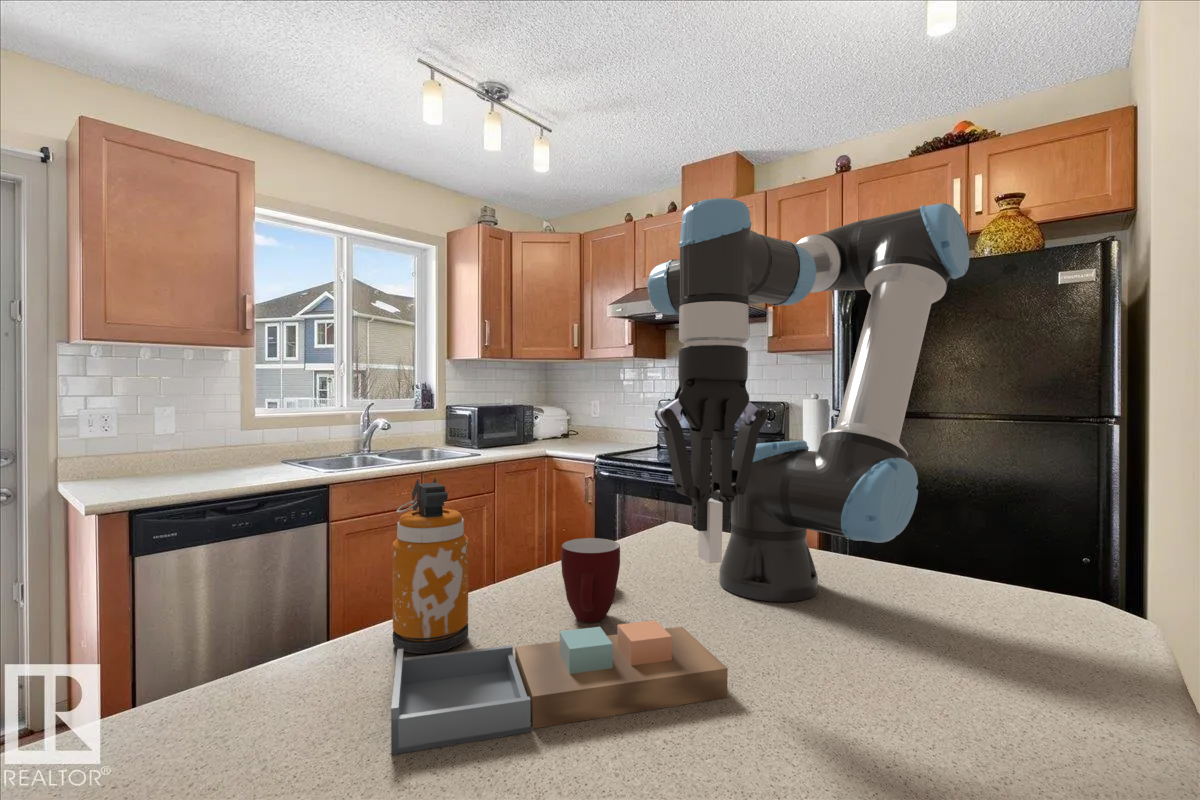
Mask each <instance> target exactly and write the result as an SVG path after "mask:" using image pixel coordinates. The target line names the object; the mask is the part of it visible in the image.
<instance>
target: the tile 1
mask: <svg viewBox="0 0 1200 800" xmlns="http://www.w3.org/2000/svg"><path fill="white" fill-rule="evenodd" d="M607 636H608V635H607V634H606V633H605V631H604V630H603V629H602V627H601V626H595V627H585V628H578V629H577V628H575V629H569V630H560V631H559V641H560V656H561V658H562V660H563V662H564V664H565V666H566V668H567V670H568V672H569V674H574V673H581V672H588V671H596V670H603V669H610V668H613V644H612V642H611V641H610V640H609V638H608V637H607Z"/></svg>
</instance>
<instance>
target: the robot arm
mask: <svg viewBox="0 0 1200 800" xmlns="http://www.w3.org/2000/svg"><path fill="white" fill-rule="evenodd" d="M752 224H753V222H752V221H751V211H750V208H749V207H748V205H747V204H746V203H745V202H744V201H741V200H738V199H733V198H724V197H723V198H722V197H721V198H719V197H718V198H709V199H708V198H707V199H703V200H700V201H698V202H694V203H692V204H690V205H689V206H687V207H686V208H685V209H684V210H683V213H682V216H681V224H680V237H679V242H678V247H679V259H678V258H677V259H670V260H669V261H666V262H663V263H660V264H658V265H656V266H655V267H654V268H653V269H652V270H651V272H650V273H649V276H648V278H647V285H646V286H647V294H648V299H649V301H650V303H651V305H652V307H653V308H654V309H655V310H656V311H658V312H659V314H660V313H661V314H662V315H664V316H665V315H666V316H667V315H668V316H670V315H677V316H678V317H679V319H678V322H679V324H678V341H679V342H680V343H681V344H684V346H682V347H680V350H678V364H677V365H678V370H677V371H678V372H677V373H678V374H677V377H678V388H677V390H676V391H675V394H674V400H673V401H671V402H670V403H668V404H667V405H665V406H664V407H658V408H657V409H655V411H654V416H655V418H656V420H657V422H658V423H659V425H660V427H661V428H662V430H663V434H664V439H665V445H666V449H667V455H668V459H669V464H670V467H671V474H672V478H673V479H672V480H673V482H674V487H675V491H676V492H677V493H678V494H680V495H683V496H686V497H688V498H690V500H691V510H692V511H691V526H692V528H693V529H694V530H696V531H698V535H697V536H698V539H697V540H698V542H697V543H698V545H697V546H698V547H697V550H698V551H697V552H698V554H697V556H698V558H700V559H702V560H703V561H704V562H706V563H708V564H716V563H721V564H720V566H719V575H718V576H719V581H718V582H719V585H720V586H721V587H722V588H723V589H724V590H726V591H728V592H729V593H731V594H734V595H736V596H741V597H743V598H747V599H752V600H758V601H765V602H781V603H782V602H783V603H785V602H788V603H789V602H797V601H798V602H799V601H805V600H807V599H810V598H813V597H814V596H816V595H817V594H818V591H819V577H818V573H817V570H816V566H815V564H814V561H813V557H812V554H811V551H810V547H809V544H808V542H807V530H808V531H809V530H810V531H814V532H819V533H824V534H829V535H833V536H837V537H838V536H839V537H843V538H847V539H849V540H852V541H861V542H862V541H864V542H865V541H866V542H871V543H879V544H880V543H881V544H882V543H887V542H889V541H892V540H893V539H895V538H896V537H897V536H899V535H900V534H901V533H902V532H903V531H904V530H905V529H906V527H907V526H908V524H909V522H910V520H911V518H912V516H913V514H914V511H915V508H916V504H917V502H918V497H919V496H918V495H919V490H918V489H917V486H918V485H919V478H918V473H917V470H916V468H915V466H914V465H913V464H912V463H911V462H910V461H908V456H909V454H908V452H907V450H906V449H905V448H904V446H903V445H902V444H901V442H900V439H901V435H902V429H903V426H904V425H903V424H904V421H905V417H906V412H907V409H908V405H909V400H910V398H911V397H910V396H911V391H912V387H913V383H914V378H915V375H916V371H917V367H918V362H919V358H920V353H921V350H922V346H923V345H922V344H923V341H924V337H925V334H926V333H925V332H926V329H927V328H926V327H927V325H928V324H927V323H928V320H929V315H930V311H931V307H932V304H934V303H937V302H938V301H940V300H941V299H942V298H943V297H944V296H945V294H946V291H947V287H948V284H949V283H948V282H949V281H950V279H953V280H956V279H959V278H960V277H961V278H962V277H963V276H964V275H965V274H967V271H968V269H969V266H970V247H969V241H968V235H967V230H966V227H965V224H964V222H963V220H962V217H961V215H960V214H959V212H958V210H957V209H956V208H955V207H954V206H952V205H951V204H948V203H942V202H941V203H937V204H936V203H935V204H929V205H920V206H919V208H914V209H910V210H904V211H901V212H896V213H895V212H894V213H892V214H887V215H882V216H876V217H872V218H868V219H864V220H863V219H862V220H858V221H854V222H851V223H848V224H844V225H841V226H838V227H837V228H834V229H829V230H828V231H825V232H821V233H819V234H810V235H808V236H805V237H802V238H801V239H800V240H798V242H794V243H793V242H792V241H790V240H789V241H788V240H782V239H778V238H775V237H771V236H767V235H765V234H760V233H758V232H757V231H754V230H751V227H752ZM862 290H866V291H867V292H868V294H870V295H871V296H870V299H869V302H868V307H867V310H866V315H865V318H864V321H863V326H862V329H861V331H860V337H859V340H858V344H857V347H856V352H855V355H854V358H853V362H852V366H851V370H850V372H849V373H850V374H849V376H848V381H847V384H846V388H845V392H844V396H843V399H842V402H841V403H842V404H841V407H840V410H839V413H838V414H839V415H838V418H837V422H836V426H835V427H833V428H831V429H829V430H827V431H825V432H824V433H823V434H822V435H821V439H820V443H819V447H818V449H817V450H816V451H814V450H813V451H812V450H809V448H810V447H809V446H808V443H807V441H806V440H804V439H803V440H789V441H788V440H787V441H773V442H762V443H761V442H760V443H758V441H759V440H758V439H759V435H760V431H761V428H762V427H763V425H764V424H765V422H766V421H767V419H768V417H769V412H768V410H766V409H765V408H764V409H762V408H758V407H757V406H756V405H754V404H753V403H752V402H750V395H749V393H748V389H747V387H746V385H747V380H748V377H749V371H748V370H749V350H747V348H746V347H745V346H743V345H744V344H745V343H747V342H748V341H749V334H750V333H749V331H750V330H749V329H750V328H749V327H750V326H749V320H750V319H749V318H750V317H749V306H750V305H759V304H770V305H772V306H775V307H777V306H792V305H797V304H798V303H800V302H801V301H803V300H804V299H805V298H806V297H808V295H809V294H810V293H820V292H825V291H826V292H827V291H862ZM681 413H682V415H683V416H684V418H685V420H686V421H687V423H688V424H689V432H688V434H689V437H690V443H691V444H690V445H691V446H690V458H689V456H688V455H689V454H688V450H687V445H686V440H685V435H684V431H683V427H682V425H681V423H680V422H681V420H682V415H681ZM739 419H741V423H740V425H739V427H738V430H737V435H736V440H735V443H734V448H733V440H734V439H735V429H736V428H735V427H736V425H735V424H736V423H737V421H738V420H739ZM689 459H690V460H689ZM711 496H712V497H711ZM729 515H730V516H729ZM729 521H730V522H729ZM729 524H730V536H729V540H728V543H727V546H726V549H725V551H724V554H722V552H723V531H724V530H728V528H729ZM722 556H723V557H722Z"/></svg>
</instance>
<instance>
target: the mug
mask: <svg viewBox="0 0 1200 800" xmlns="http://www.w3.org/2000/svg"><path fill="white" fill-rule="evenodd" d="M560 547H561V550H560V551H561V552H560V553H561V555H560V556H561V557H560V562H561V563H560V565H561V574H562V573H563V577H562V579H563V578H564V579H563V582H564V588H565V590H564V591H565V596H566V599H567V603H568V605H569V607H570V610H571V611H572V613H573V615H574V617H575V619H576V620H578V621H579V622H581V623H586V624H587V623H588V624H595V623H600V622H602V621H603V620H604V619H605V618H606V617H607V615H608V613H609V611H610V609H611V607H612V605H613V603H614V600H615V596H616V591H617V585H618V580H619V573H620V568H621V546H620V543H619V542H618V541H615V540H612V539H608V538H607V539H606V538H601V537H584V538H574V539H569V540H567V541H565V542H563V543H562V544H561V546H560Z"/></svg>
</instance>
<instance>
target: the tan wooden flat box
mask: <svg viewBox="0 0 1200 800" xmlns="http://www.w3.org/2000/svg"><path fill="white" fill-rule="evenodd" d="M664 629H665V630H666V631H667V632H668V633H669V634H670V635H671V636H672V660H669V661H661V662H654V663H647V664H639V665H632V666H631V665H630V664H629V662H628V661H627V659H626V658H625V657H624V655H623V654H622V653H621V651H620V650H619V649H618V647H617V634H610V635H607V637H608V638H609V640H610V641H611V642H612V644H613V668H610V669H603V670H596V671H588V672H581V673H574V674H569V672H568V670H567V668H566V666H565V664H564V662H563V660H562V658H561V656H560V640H559V641H553V642H552V641H549V642H543V643H534V644H526V645H525V644H524V645H517V646H515V649H514V650H515V654H514V655H515V656H514V658H515V661H516V664H517V667H518V670H519V673H520V676H521V679H522V682H523V685H524V688H525V691H526V694H527V697H530V726H531V729H532V730H533V729H539V728H540V729H541V728H545V727H551V726H552V727H553V726H559V725H563V724H565V725H566V724H570V723H575V722H576V723H577V722H583V721H589V720H595V719H601V718H606V717H607V718H608V717H613V716H621V715H626V714H627V715H628V714H633V713H639V712H645V711H650V710H651V711H652V710H656V709H657V710H658V709H663V708H670V707H675V706H676V707H677V706H683V705H689V704H696V703H701V702H707V701H713V700H720V699H726V698H728V674H729V673H728V669H729V668H728V667H727V666H726V665H725V664H724V663H723V662H722V661H720V660H719V659H718V657H716V656H715V655H714V654H713V653H712V652H711V651H709V650H708V649H707V647H705V646H704V645H703V644H702V643H701V642H700V641H699V640H698V639H696V637H694V636H693V634H691V633H690V632H689V631H688V630H687V629H686V628H684V627H683V626H676V627H669V628H664Z"/></svg>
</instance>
